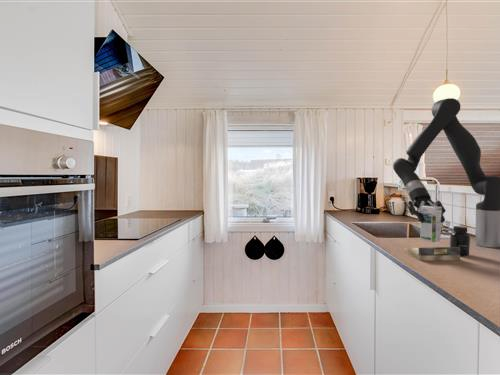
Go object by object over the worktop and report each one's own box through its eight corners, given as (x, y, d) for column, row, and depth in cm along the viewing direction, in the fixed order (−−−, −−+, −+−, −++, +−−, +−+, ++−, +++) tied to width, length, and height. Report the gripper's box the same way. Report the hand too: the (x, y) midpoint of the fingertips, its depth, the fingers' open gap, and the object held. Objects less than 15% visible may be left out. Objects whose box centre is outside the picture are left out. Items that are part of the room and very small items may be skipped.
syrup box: (419, 239, 121) (420, 206, 120) (426, 238, 124) (427, 205, 123) (434, 242, 116) (435, 207, 115) (441, 240, 119) (442, 206, 118)
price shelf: (440, 251, 126) (440, 240, 126) (460, 260, 114) (460, 247, 113) (404, 252, 126) (404, 241, 126) (420, 260, 114) (420, 248, 114)
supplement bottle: (461, 257, 118) (461, 228, 117) (445, 253, 124) (446, 225, 124) (473, 255, 119) (474, 227, 119) (457, 251, 126) (458, 224, 125)
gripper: (404, 186, 126) (420, 216, 115) (437, 186, 126) (455, 216, 115) (398, 197, 132) (412, 227, 121) (429, 197, 132) (445, 226, 121)
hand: (433, 221), depth 118 cm, fingers closed on syrup box, 7 cm apart
